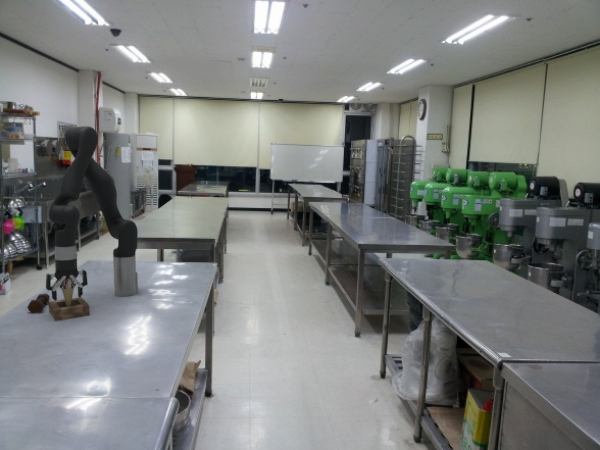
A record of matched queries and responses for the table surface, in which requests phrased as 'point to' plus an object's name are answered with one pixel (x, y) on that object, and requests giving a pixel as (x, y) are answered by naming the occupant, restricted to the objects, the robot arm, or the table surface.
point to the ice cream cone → (68, 290)
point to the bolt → (38, 303)
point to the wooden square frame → (68, 309)
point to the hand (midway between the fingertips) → (67, 298)
